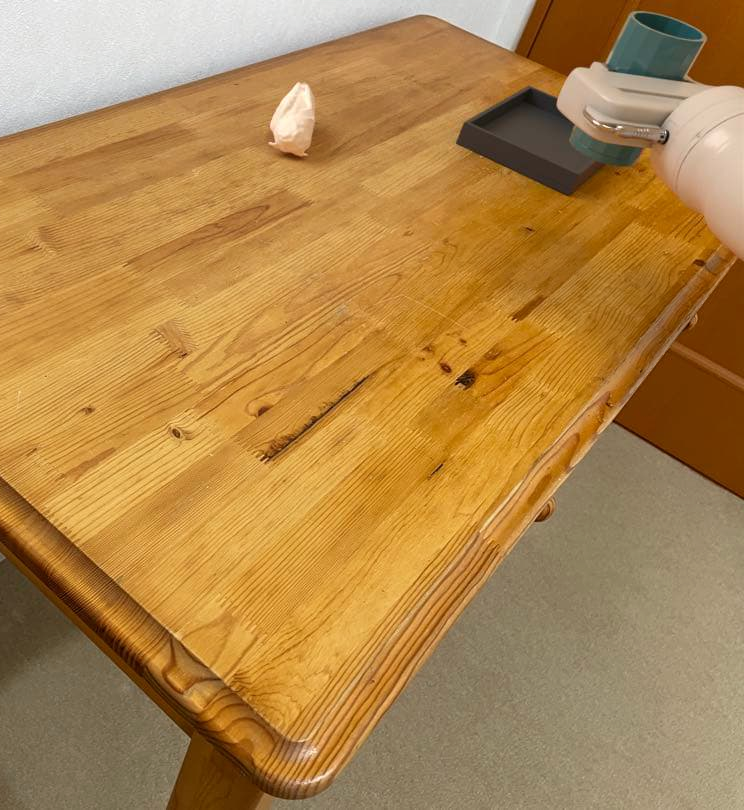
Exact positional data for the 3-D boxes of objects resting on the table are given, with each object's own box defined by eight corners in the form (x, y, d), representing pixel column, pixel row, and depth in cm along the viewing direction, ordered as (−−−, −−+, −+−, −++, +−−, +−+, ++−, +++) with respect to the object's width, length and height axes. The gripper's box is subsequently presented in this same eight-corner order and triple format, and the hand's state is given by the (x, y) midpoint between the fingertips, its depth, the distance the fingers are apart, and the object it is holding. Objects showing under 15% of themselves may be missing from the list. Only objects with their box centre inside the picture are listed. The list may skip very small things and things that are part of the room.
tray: (520, 104, 119) (528, 85, 117) (622, 149, 114) (633, 129, 112) (455, 143, 106) (463, 121, 104) (568, 196, 100) (579, 174, 98)
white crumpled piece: (261, 129, 102) (266, 147, 93) (284, 73, 99) (291, 86, 90) (299, 144, 103) (307, 164, 94) (323, 89, 100) (334, 104, 91)
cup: (617, 137, 87) (681, 17, 79) (649, 170, 82) (721, 45, 74) (557, 130, 85) (617, 6, 77) (586, 163, 81) (653, 34, 73)
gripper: (582, 167, 70) (520, 95, 80) (792, 192, 74) (708, 120, 84) (620, 93, 66) (550, 26, 76) (841, 123, 70) (747, 56, 79)
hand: (635, 76), depth 80 cm, fingers closed on cup, 7 cm apart
